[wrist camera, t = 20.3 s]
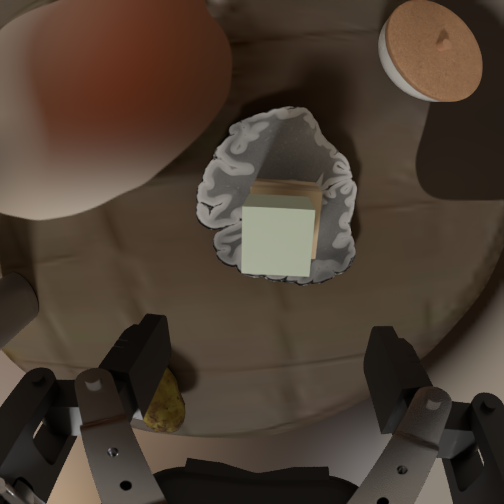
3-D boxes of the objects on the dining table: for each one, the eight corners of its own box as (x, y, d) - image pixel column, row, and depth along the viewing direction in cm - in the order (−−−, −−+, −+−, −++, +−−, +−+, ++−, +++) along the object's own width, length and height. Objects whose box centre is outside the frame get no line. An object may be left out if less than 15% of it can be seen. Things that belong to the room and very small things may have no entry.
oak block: (253, 234, 34) (247, 254, 28) (256, 178, 32) (250, 187, 26) (309, 238, 33) (315, 259, 28) (314, 182, 31) (322, 192, 26)
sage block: (247, 249, 28) (241, 273, 23) (248, 193, 26) (242, 206, 22) (304, 252, 28) (309, 276, 23) (308, 196, 26) (315, 210, 21)
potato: (179, 348, 43) (162, 385, 36) (195, 406, 48) (184, 443, 40) (129, 345, 44) (107, 378, 37) (150, 402, 49) (135, 435, 41)
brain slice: (176, 152, 34) (167, 154, 31) (316, 94, 31) (319, 90, 28) (243, 297, 40) (241, 309, 37) (372, 252, 36) (379, 262, 34)
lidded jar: (366, 98, 30) (395, 86, 21) (364, 14, 26) (388, -20, 17) (449, 114, 29) (494, 112, 20) (445, 34, 25) (485, 13, 16)
